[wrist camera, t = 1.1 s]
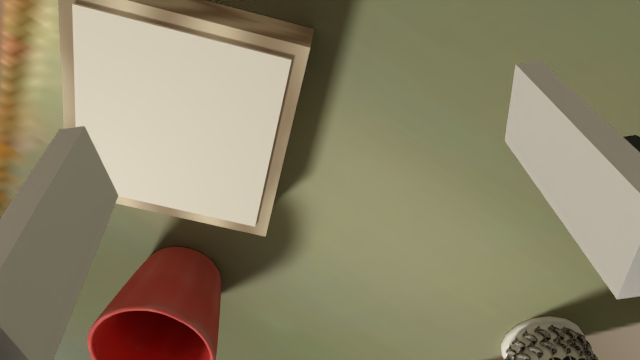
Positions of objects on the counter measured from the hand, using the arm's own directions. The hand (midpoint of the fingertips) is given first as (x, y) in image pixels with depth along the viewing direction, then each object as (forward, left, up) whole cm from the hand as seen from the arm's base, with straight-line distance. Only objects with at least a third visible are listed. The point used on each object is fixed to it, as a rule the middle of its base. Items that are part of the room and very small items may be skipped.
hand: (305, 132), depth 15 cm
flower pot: (+7, +30, -22) cm, 38 cm away
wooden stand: (+8, +11, -22) cm, 26 cm away
